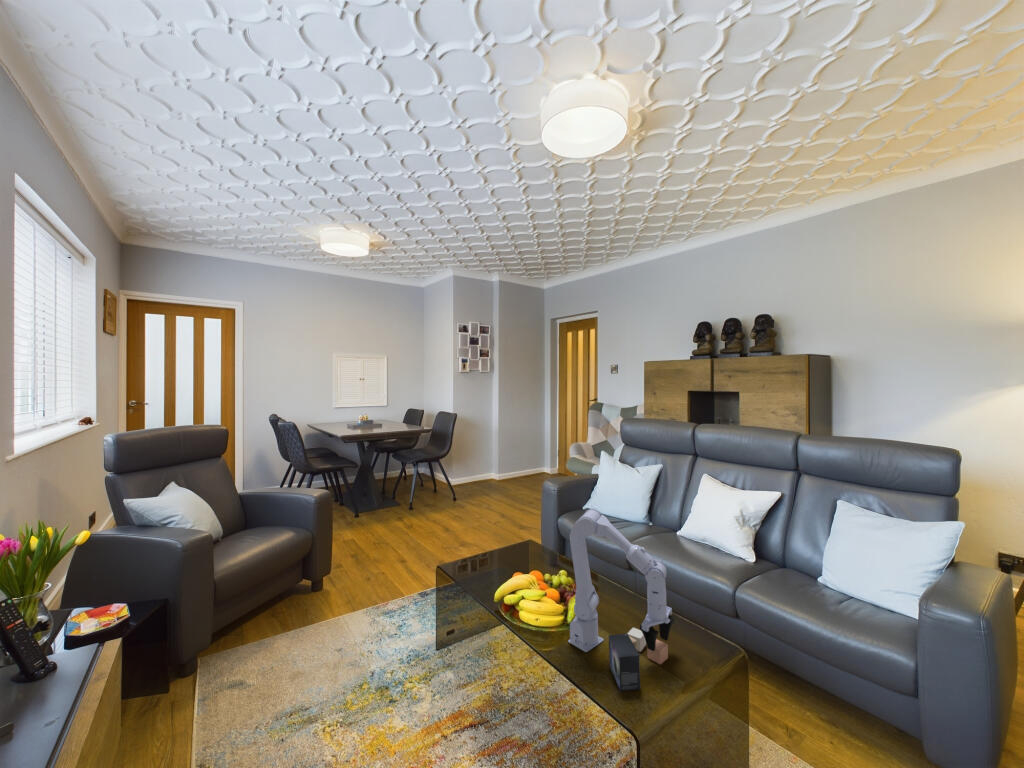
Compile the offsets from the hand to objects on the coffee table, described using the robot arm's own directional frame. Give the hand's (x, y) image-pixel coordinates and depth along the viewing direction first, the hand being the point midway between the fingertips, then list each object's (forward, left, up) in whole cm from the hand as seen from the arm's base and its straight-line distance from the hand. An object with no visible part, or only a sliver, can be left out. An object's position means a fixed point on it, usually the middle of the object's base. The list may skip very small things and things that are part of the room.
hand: (657, 644), depth 142 cm
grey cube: (0, +8, -5) cm, 9 cm away
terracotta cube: (0, 0, -5) cm, 5 cm away
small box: (-16, +2, -5) cm, 16 cm away
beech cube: (-5, +8, -5) cm, 11 cm away
